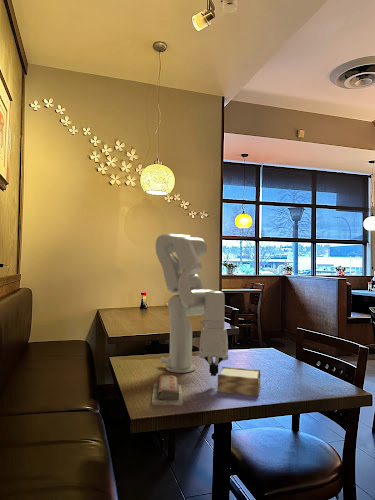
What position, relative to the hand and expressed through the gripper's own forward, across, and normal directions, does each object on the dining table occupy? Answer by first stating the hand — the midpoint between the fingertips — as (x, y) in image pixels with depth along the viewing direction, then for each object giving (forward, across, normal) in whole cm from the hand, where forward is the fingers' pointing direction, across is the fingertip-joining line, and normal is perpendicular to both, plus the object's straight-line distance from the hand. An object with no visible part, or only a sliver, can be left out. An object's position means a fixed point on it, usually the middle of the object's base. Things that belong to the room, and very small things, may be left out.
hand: (213, 374), depth 130 cm
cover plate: (+1, +9, 0) cm, 9 cm away
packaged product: (+5, -13, -14) cm, 20 cm away
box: (+4, +9, 0) cm, 10 cm away
